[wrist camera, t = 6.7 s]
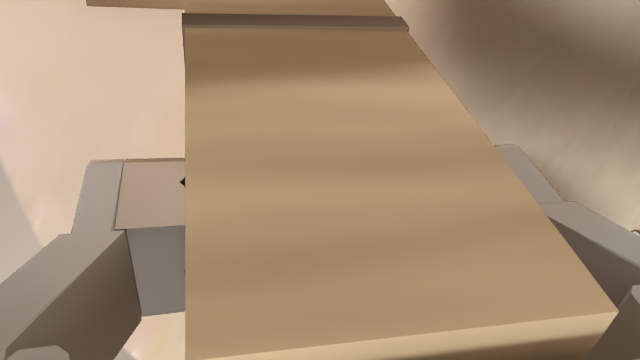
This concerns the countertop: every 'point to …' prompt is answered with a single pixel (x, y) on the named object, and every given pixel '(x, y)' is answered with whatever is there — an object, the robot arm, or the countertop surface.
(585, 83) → the countertop surface
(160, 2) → the brown wooden socket base
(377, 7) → the peg
